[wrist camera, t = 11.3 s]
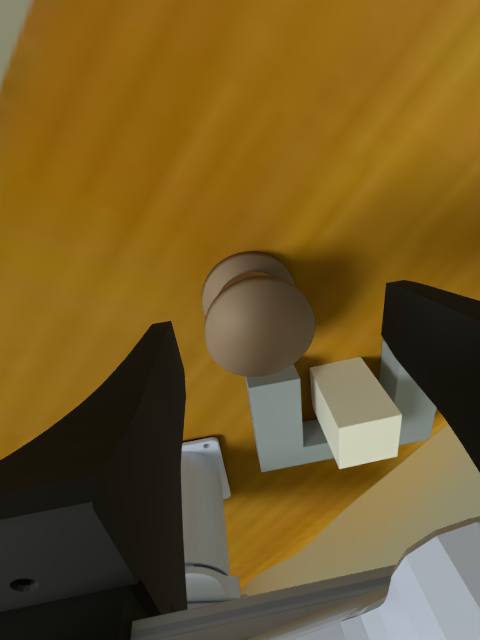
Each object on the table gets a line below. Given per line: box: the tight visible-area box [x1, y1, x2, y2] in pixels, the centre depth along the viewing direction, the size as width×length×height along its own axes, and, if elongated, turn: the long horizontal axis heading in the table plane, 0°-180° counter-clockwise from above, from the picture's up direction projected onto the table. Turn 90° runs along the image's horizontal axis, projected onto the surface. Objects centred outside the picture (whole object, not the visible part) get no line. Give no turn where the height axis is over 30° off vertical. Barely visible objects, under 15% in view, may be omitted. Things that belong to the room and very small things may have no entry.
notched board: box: [245, 340, 437, 472], centre depth 27 cm, size 14×9×2 cm, turn 97°
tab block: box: [309, 357, 402, 469], centre depth 25 cm, size 4×4×6 cm
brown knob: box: [202, 252, 316, 377], centre depth 21 cm, size 6×6×4 cm
